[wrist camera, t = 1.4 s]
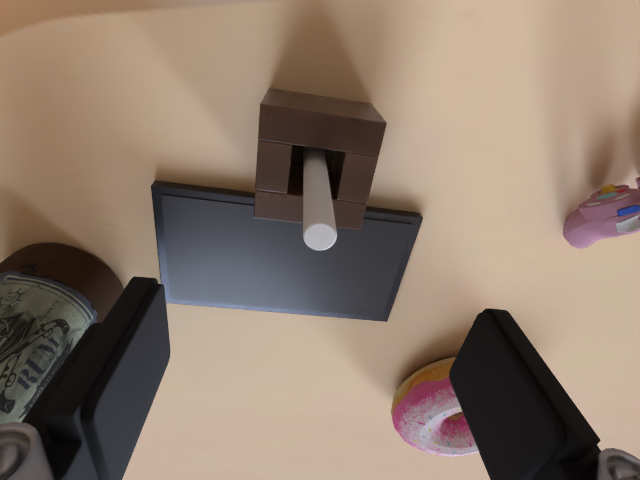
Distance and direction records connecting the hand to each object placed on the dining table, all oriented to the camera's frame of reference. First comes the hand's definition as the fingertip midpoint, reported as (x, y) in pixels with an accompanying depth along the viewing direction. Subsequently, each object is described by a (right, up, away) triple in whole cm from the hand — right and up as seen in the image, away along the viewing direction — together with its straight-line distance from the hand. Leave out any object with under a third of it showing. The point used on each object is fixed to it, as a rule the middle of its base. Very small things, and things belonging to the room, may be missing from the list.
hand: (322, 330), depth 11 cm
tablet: (-3, +1, +19) cm, 19 cm away
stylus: (-1, +9, +14) cm, 17 cm away
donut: (+14, -14, +29) cm, 36 cm away
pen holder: (-1, +9, +14) cm, 17 cm away
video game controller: (+23, +7, +17) cm, 29 cm away
